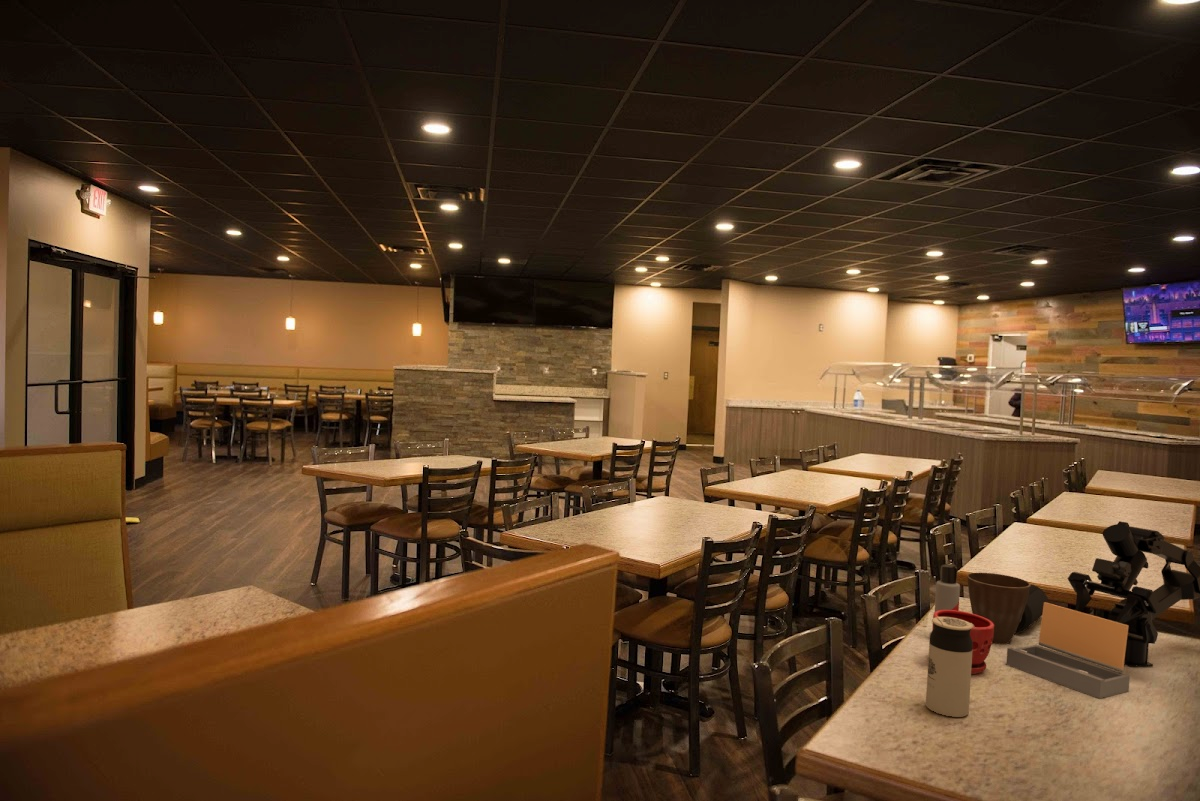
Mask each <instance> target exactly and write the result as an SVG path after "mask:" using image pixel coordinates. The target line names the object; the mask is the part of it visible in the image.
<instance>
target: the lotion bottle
mask: <svg viewBox="0 0 1200 801" xmlns="http://www.w3.org/2000/svg"><path fill="white" fill-rule="evenodd" d="M957 576H958V567H957V566H956V564H952V563H944V564H942V565H941V566H940V580H937V581H936V584H935V597H934V598H935V599H934V600H935V601H934V612H933V614H934V613H935V612H936V611H939V610H956V611H960V610H959V608H960V594H961V593H960V592H961V585H960V583H958V582H957Z"/></svg>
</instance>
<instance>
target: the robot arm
mask: <svg viewBox="0 0 1200 801" xmlns="http://www.w3.org/2000/svg"><path fill="white" fill-rule="evenodd" d="M1102 537H1103V539H1104V540H1105V542H1106V544H1107V547H1108V549H1109V551H1110V552H1111V553H1112V554H1113V555H1114V556H1116V557H1115V558H1114V560H1113V561H1111V560H1107V559H1103V558H1098V557H1096V558H1095V560H1094V563H1093V566H1092V570H1091V571H1092V572H1094V573H1096V574H1097V576H1096V577H1097V579H1098V580H1099V581H1101V582H1096V581H1093V580H1092V578H1091V577H1090V575H1089V574H1087V573H1086V574H1085V573H1081V572H1077V571H1072V572H1071V573H1070V574H1069V575H1068V577H1067V581H1068V582H1069V584H1070V586H1071V588H1072V589H1073V591H1074V593H1076V599H1075V600H1076V601H1075V609H1074V610H1075V611H1078V612H1083V610H1085V608H1086V606H1088V604H1089V603H1090V601H1091V600H1092V598H1093V597H1092V596H1093V595H1094V594H1095V592H1100V593H1103V594H1107V595H1110V596H1112V597H1113V596H1114V597H1118V598H1121V600H1120V601H1119V602H1118V603H1114V606H1113V607H1112V608H1111V609H1110V610H1109V612H1108V614H1107V620H1111V621H1114V622H1118V623H1121V624H1125V625H1129V627H1128V635H1127V643H1126V651H1125V659H1124V665H1127V666H1129V667H1153V666H1154V664H1153V663H1151V662H1148V661H1149V660H1148V658H1149V646H1150V645H1149V644H1151V645H1154V644H1156V642H1157V640H1158V636H1159V633H1158V631H1157V629H1156V627H1155V626H1154V623H1153V620H1154V619H1155V618H1157V617H1158V616H1160V615H1161V614H1163V613H1164V612H1166V611H1167V610H1169V609H1170V608H1171V607H1173V606H1174V605H1175V604H1177V603H1178V602H1180V601H1183V600H1188V601H1189V600H1196V599H1198V598H1200V565H1199V564H1198V562H1196V561H1195V559H1194V554H1193V552H1192V551H1191V550H1188V549H1186V548H1185V549H1184V548H1182V547H1181V546H1178V545H1175V544H1173V543H1171V542H1169V541H1167V540H1165V536H1164V535H1163V534H1162V533H1160V531H1159V530H1155V529H1154V530H1153V529H1149V528H1148V529H1147V528H1143V527H1136V526H1130V525H1129V522H1126V521H1118V522H1117V524H1112V525H1109V526H1107V527H1106V528H1104V529H1103V530H1102ZM1145 553H1147V554H1152V555H1154V556H1157V557H1159V558H1161V559H1164V560H1165V564H1164V566H1163V567H1162V569H1161V576H1162V581H1163V584H1162V585H1160V586H1159V587H1158V588H1156V589H1154V590H1153V589H1150V588H1145V587H1141V586H1137V585H1138V583H1139V582H1138V580H1137V579H1138V577H1139V575H1140V574H1141V571H1142V569H1143V568H1144V569H1149V563H1148V559H1147V557H1146V554H1145ZM1172 563H1173V564H1178V565H1182V566H1184V567H1185V569H1186V570H1187V571H1188V572H1185V571H1181V570H1176V569H1171V564H1172Z"/></svg>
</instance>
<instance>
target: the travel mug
mask: <svg viewBox="0 0 1200 801" xmlns="http://www.w3.org/2000/svg"><path fill="white" fill-rule="evenodd" d="M931 621H932V625H933V624H934V629H933V628H932V629H933V631H931V632H930V633H929V643H928V644H929V645H928V658H927V677H926V695H925V706H926V708H927V709H929V710H930V711H932V712H933V711H934V712H933V713H935V712H936V713H935V714H938V713H939V714H938V715H940V714H942V715H941V716H944V715H946V716H945V717H948V716H952V717H951V718H963V717H966V716H968V715H969V713H970V696H971V683H972V682H971V681H972V674H971V667H972V650H973V640H972V638H971V636H970V630H971V629H972V627H974V625H973V624H972V623H969V622H967V621H964V620H961V619H957V618H952V617H935V618H933V617H932V620H931Z"/></svg>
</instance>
